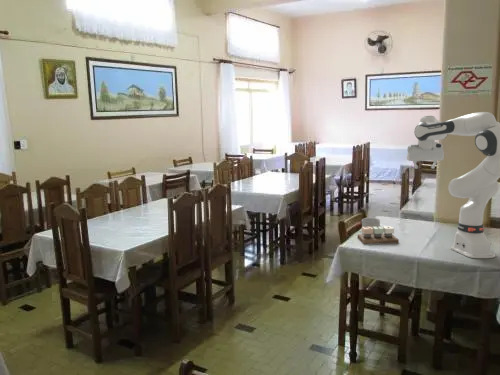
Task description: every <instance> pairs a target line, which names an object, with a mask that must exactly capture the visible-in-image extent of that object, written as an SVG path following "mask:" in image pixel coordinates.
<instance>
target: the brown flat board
mask: <svg viewBox="0 0 500 375" xmlns="http://www.w3.org/2000/svg"><path fill="white" fill-rule="evenodd" d="M357 239H358V240H359V241H360V242H361V243H362V244H364V243H365V244H366V243H367V244H368V243H372V244H399V241H400V240H399V239H398V237H396V236H395V235H394V233H392V236H387V237H386V236H385V235H384V234H382V237H375V236H374V233H373V234H371V237H365V236H364V233H358V234H357ZM365 244H364V245H365Z"/></svg>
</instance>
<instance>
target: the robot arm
mask: <svg viewBox="0 0 500 375" xmlns="http://www.w3.org/2000/svg"><path fill="white" fill-rule="evenodd" d="M448 135H453V136H463V137H473V136H475V137H474V145H475V147H476V148H477V149H478V151H479V152H481V153H482V154H483V155H484V156H486V157H485V158H483V160H482V161H481V162H480V163H479V164H478V165H477V166H476V167H475V168H473V169H472V170H470V171H468V172H467V173H465V174H463V175H461V176H458V177H455V178H453V179H451V180H450V182H449V183H448V186H447V188H448V192H449V195H451V196H452V197H454V198H458V199H468V201H467V202H466V203H464V204H463V205H461V206H460V209H459V216H458V222H457V231H456V233H455V234H454V238H453V239H454V240H453V244H452V246H450V250H452V251H454V252H456V253H459V254H461V255H463V256H465V257H467V258H471V259H493V258H496V254H495V253H494V252H492V250H491V245H492V242H491V241H490V240H488V238H487V237H486V235H485V233H484V232H485V228H484V223H483V220H484V219H483V218H484V213H485V209H486V206H487V205H488V203H489V201H490V200H491V198H493V197H494V196H495V195H496V194H498V192H499V187H500V186H499V182H498V180H500V121H499V122H498V121H497V120H496V117H495V115H494V114H493V113H492V112H487V111H480V112H479V111H478V112H472V113H468V114H464V115H461V116H458V117H455V118H451V119H449V120H445V121H440V120H438V119H437V118H436V117H435V116H434V115H426V116H425V115H424V116H422V117H420V119H419V123H417V125H416V126H415V128H414V136H415V137H416V139H417V144H410V145H408V147H407V153H406V154H407V156H406V160H408V161H409V162H412V163H413V165H414V169H417V170H418V169H419V165H417V163H418V162H424V161H425V162H431V161H432V162H433V163H432V164H431V165H430V169H433V170H434V169H435V166H436V165H437V163H438V162H439V161H441V162H442V161H444V158H445V153H444V152H445V151H444V145H443V143H440V142H437V141H440V140H445V139H446V138H447V137H448Z"/></svg>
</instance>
